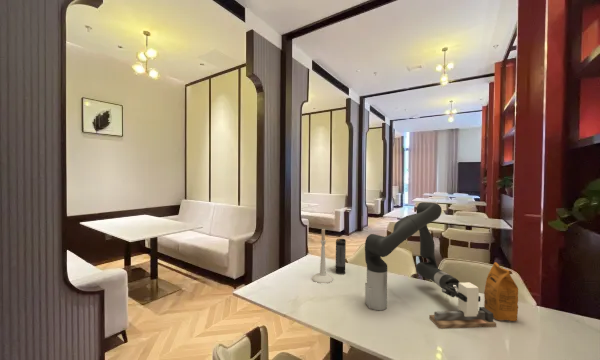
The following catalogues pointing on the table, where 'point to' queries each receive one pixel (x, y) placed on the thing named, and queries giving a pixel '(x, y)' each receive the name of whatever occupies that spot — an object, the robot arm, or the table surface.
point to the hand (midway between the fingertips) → (472, 299)
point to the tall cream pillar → (468, 299)
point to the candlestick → (322, 265)
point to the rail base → (462, 319)
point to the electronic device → (340, 256)
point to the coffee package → (501, 294)
